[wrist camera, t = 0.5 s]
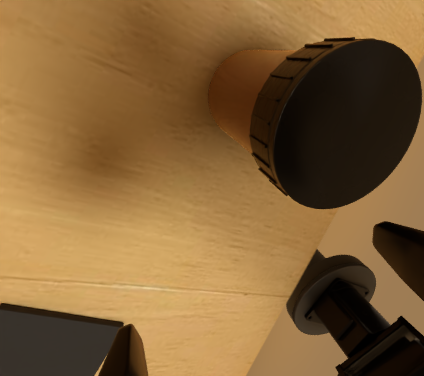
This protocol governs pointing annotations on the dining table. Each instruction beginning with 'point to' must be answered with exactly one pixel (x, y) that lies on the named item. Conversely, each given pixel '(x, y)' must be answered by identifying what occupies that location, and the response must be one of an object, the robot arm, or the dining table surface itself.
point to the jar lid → (335, 120)
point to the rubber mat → (52, 342)
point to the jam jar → (241, 90)
